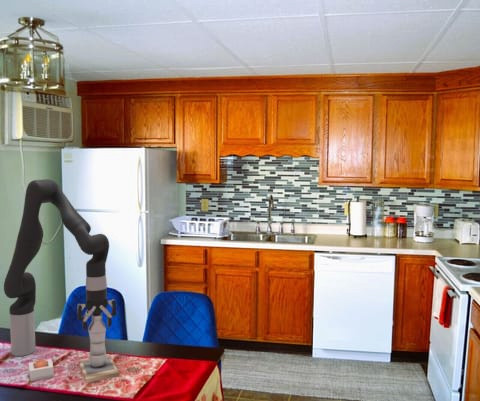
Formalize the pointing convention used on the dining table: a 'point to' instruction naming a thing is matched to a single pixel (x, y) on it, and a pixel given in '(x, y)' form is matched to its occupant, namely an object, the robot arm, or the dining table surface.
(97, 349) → the plastic bottle
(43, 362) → the button cap
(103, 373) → the board
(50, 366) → the button housing
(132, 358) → the dining table surface
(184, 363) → the dining table surface
